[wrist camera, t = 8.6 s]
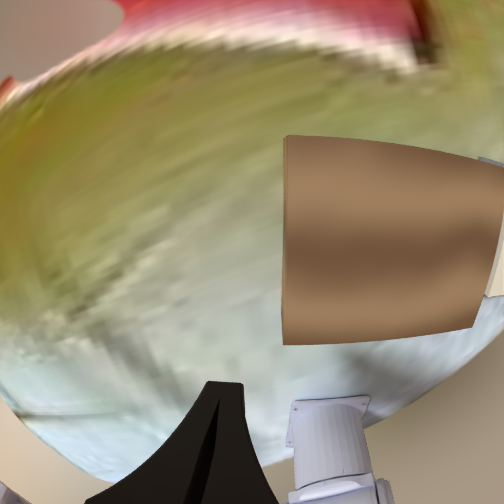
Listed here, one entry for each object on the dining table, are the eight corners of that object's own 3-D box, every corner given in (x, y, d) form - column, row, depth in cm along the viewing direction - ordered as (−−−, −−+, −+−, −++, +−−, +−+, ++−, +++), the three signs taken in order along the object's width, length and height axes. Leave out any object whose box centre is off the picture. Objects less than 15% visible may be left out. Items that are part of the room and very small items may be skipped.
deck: (449, 302, 19) (472, 327, 16) (281, 310, 20) (283, 345, 17) (474, 161, 15) (508, 168, 11) (283, 138, 16) (288, 135, 12)
